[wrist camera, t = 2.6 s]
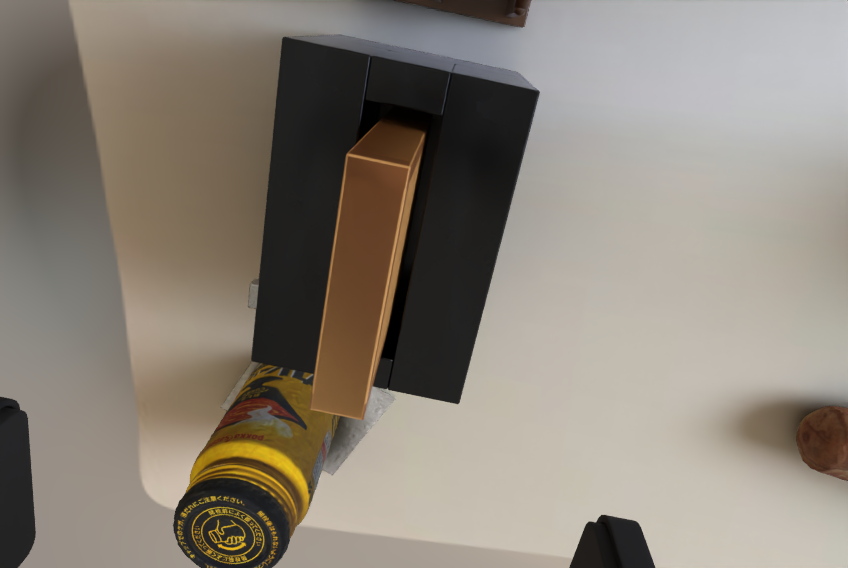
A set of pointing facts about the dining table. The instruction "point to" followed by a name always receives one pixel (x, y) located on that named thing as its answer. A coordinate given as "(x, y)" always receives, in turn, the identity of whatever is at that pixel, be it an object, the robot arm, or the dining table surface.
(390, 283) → the toast
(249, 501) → the condiment
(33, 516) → the robot arm
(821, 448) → the reddish-brown tapered rod
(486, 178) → the toaster
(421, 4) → the rack
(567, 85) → the dining table surface
